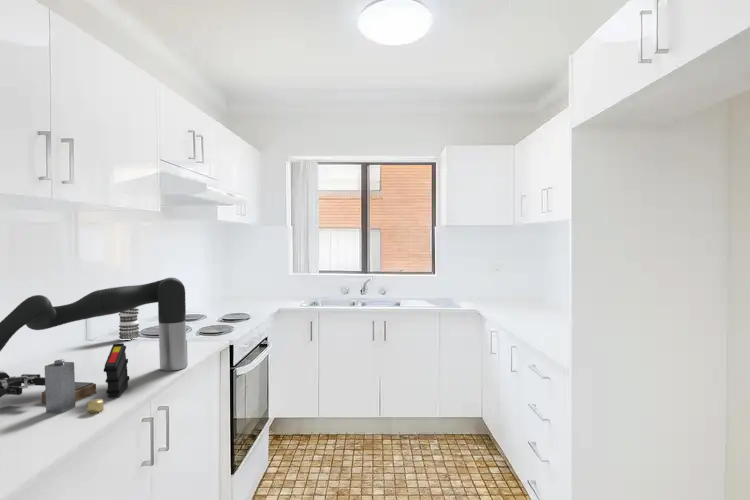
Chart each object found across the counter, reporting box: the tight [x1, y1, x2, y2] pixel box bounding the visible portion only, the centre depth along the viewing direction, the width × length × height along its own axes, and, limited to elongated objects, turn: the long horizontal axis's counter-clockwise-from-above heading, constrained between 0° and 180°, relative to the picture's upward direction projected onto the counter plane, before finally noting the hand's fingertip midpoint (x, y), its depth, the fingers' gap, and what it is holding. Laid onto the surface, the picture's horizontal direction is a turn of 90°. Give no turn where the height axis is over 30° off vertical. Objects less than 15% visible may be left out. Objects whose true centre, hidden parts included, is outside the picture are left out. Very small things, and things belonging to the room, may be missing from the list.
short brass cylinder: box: [86, 398, 105, 415], centre depth 142 cm, size 4×4×3 cm
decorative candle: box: [118, 307, 140, 340], centre depth 242 cm, size 9×9×25 cm
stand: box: [41, 381, 97, 403], centre depth 154 cm, size 10×10×3 cm
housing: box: [44, 359, 76, 414], centre depth 143 cm, size 5×5×14 cm
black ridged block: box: [103, 343, 130, 399], centre depth 158 cm, size 4×13×15 cm, turn 12°
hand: (34, 386), depth 144 cm, fingers open, 8 cm apart
